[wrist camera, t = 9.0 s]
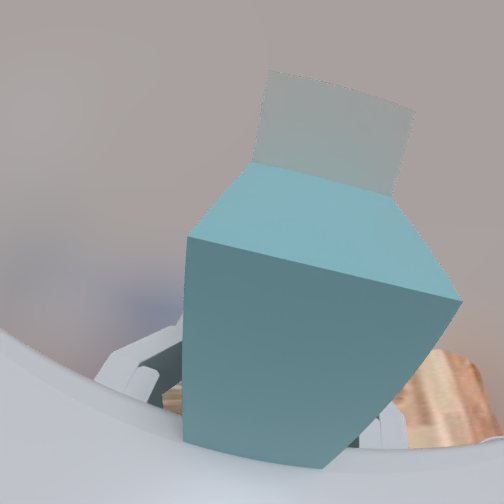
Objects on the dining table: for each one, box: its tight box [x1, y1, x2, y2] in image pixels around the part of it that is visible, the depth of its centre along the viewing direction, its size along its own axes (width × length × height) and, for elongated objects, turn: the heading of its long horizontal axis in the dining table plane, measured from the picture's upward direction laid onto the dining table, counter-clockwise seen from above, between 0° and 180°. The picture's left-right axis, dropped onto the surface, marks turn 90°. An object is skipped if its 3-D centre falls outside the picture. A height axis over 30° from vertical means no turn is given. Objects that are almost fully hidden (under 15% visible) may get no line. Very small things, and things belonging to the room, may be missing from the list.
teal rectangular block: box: [182, 71, 463, 469], centre depth 9 cm, size 2×9×15 cm, turn 170°
